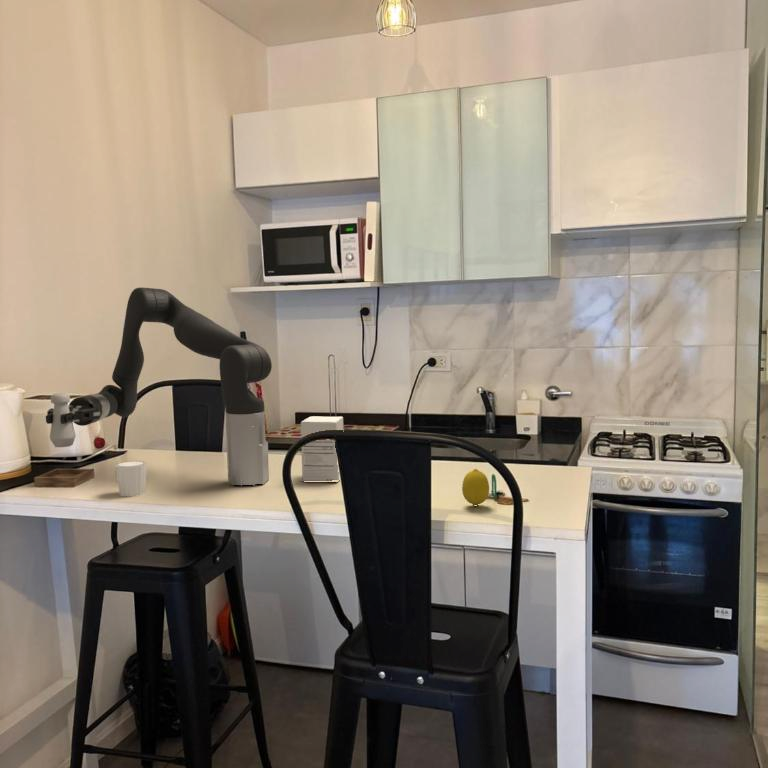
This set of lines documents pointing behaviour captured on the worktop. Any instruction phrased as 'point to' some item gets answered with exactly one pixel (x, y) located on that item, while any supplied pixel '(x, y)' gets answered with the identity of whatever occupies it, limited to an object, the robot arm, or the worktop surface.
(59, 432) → the salt shaker
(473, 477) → the lemon
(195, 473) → the worktop surface
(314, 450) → the supplement box
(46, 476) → the wooden tray
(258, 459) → the robot arm
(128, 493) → the shot glass
